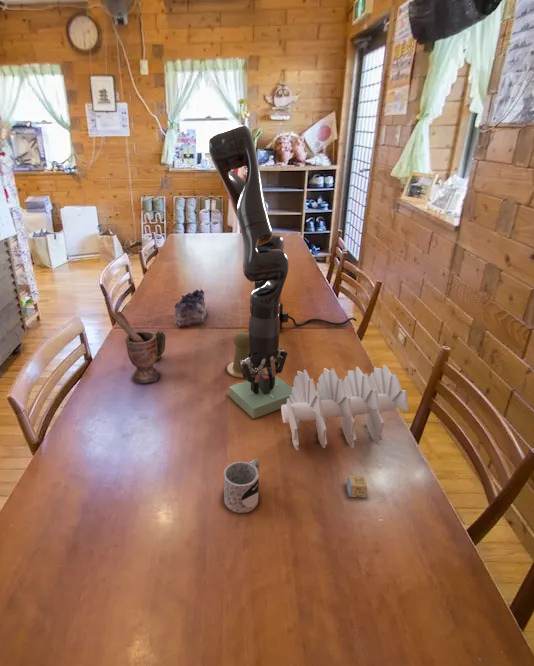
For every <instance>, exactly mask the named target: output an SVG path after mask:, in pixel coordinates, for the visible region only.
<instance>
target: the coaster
mask: <svg viewBox="0 0 534 666" xmlns="http://www.w3.org/2000/svg"><path fill="white" fill-rule="evenodd" d="M233 362H234V360H233V361H231V362H229V363H228V365H227V367H226V371H227V373H228V374H229V376H232V377H234V378H239V379H245V378H244V377H243V374H242V373H239V372H236V371H234V370H233ZM250 373H251V371H250Z"/></svg>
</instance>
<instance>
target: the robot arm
mask: <svg viewBox="0 0 534 666" xmlns="http://www.w3.org/2000/svg"><path fill="white" fill-rule="evenodd" d="M207 150H208V154H209V156H210V159H211V161H212V164H213V166H214V168H215V170H216V172H217V174H218V176H219V178H220V180H221V182H222V184H223V186H224V188H225V190H226V193H227V195H228V199H229V202H230V204H231V206H232V209H233V212H234V214H235V217H236V219H237V221H238V225H239V229H240V234H241V236H242V249H243V250H242V272H243V275H244V277H245V279H247V280H248V281H249V282H251V283H253V290H252V291H251V293H250V297H249V319H248V334H249V350H250V352H249V355H248V358H247V359H245V360H244V361H242V360H239V362H238V363H239V366H240V369H241V371H242V374H243V377H244V378H243V379H245V380H246V381H248V382H251V391H253V392H254V393H255V394H259V381H258V380H259V377H260V374H262V370H263V371H264V369H265V368H266V374H267V375H268V376H269V378H270V390H271V389H273V387H274V385H275V376H277V375H278V374H281V373H282V372H283V369H284V366H285V363H286V360H287V357H288V352H287V351H286V350H284V349H283V348H279V347H280V330H282V329H283V324H284V323H288V322H289V319H290V320H291V321H292V323H293V324H294V326H296V327H301V326H304V325H307V324H308V323H311V322H315V321H316V322H321V323H325V324H329V325H334V326H343V325H345V324H347V323H348V322H350V321H355V322H357V321H358V319H356V318H355V317H353V316H352V317H348V318H347V319H346V320H345V321H342V322H332V321H329V320H325V319H321V318H310V319H308V320H305V321H304V322H302V323H297V322H296V320H295V318H294V317H292V316H291V315H289V313H288V312H286V311H284V303H283V302H281V300H282V298H281V297H282V292H283V288H284V285H285V282H286V280H287V276H288V273H289V267H290V266H289V265H290V261H289V257H288V255H287V253H286V252H285V241H284V238H283V236H281V235H278V234H277V235H276V234H273V230H272V226H271V222H270V219H269V216H268V206H267V203H266V200H265V197H264V191H263V185H262V177H261V170H260V165H259V158H258V153H257V148H256V145H255V141H254V137H253V135H252V132H251V130H250V129H249V128H248V127H247V125H244V124H243V125H237V126H235V127H232V128H229V129H226V130H224V131H221V132H218V133H216V134H214V135H212V136H210V137H209V138H208V141H207ZM244 167H245V168H246V174H245V178H243V177H241V176H240V175H238V174H237V173H236V172H235V170H239V169H242V168H244ZM250 362H251V363H252V364H251V368H250ZM249 368H250V369H251V373H250V370H249Z"/></svg>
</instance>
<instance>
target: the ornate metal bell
mask: <svg viewBox="0 0 534 666" xmlns="http://www.w3.org/2000/svg"><path fill="white" fill-rule="evenodd" d="M155 334H156V337H157V348H158V354H157V359H156V362H158V361H160V360H161V358H162V355H163V354H164V352H165V351H166V338H167V337H166V334H165V333H164V332H163V331H161V332H160V331H157V333H155Z"/></svg>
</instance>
